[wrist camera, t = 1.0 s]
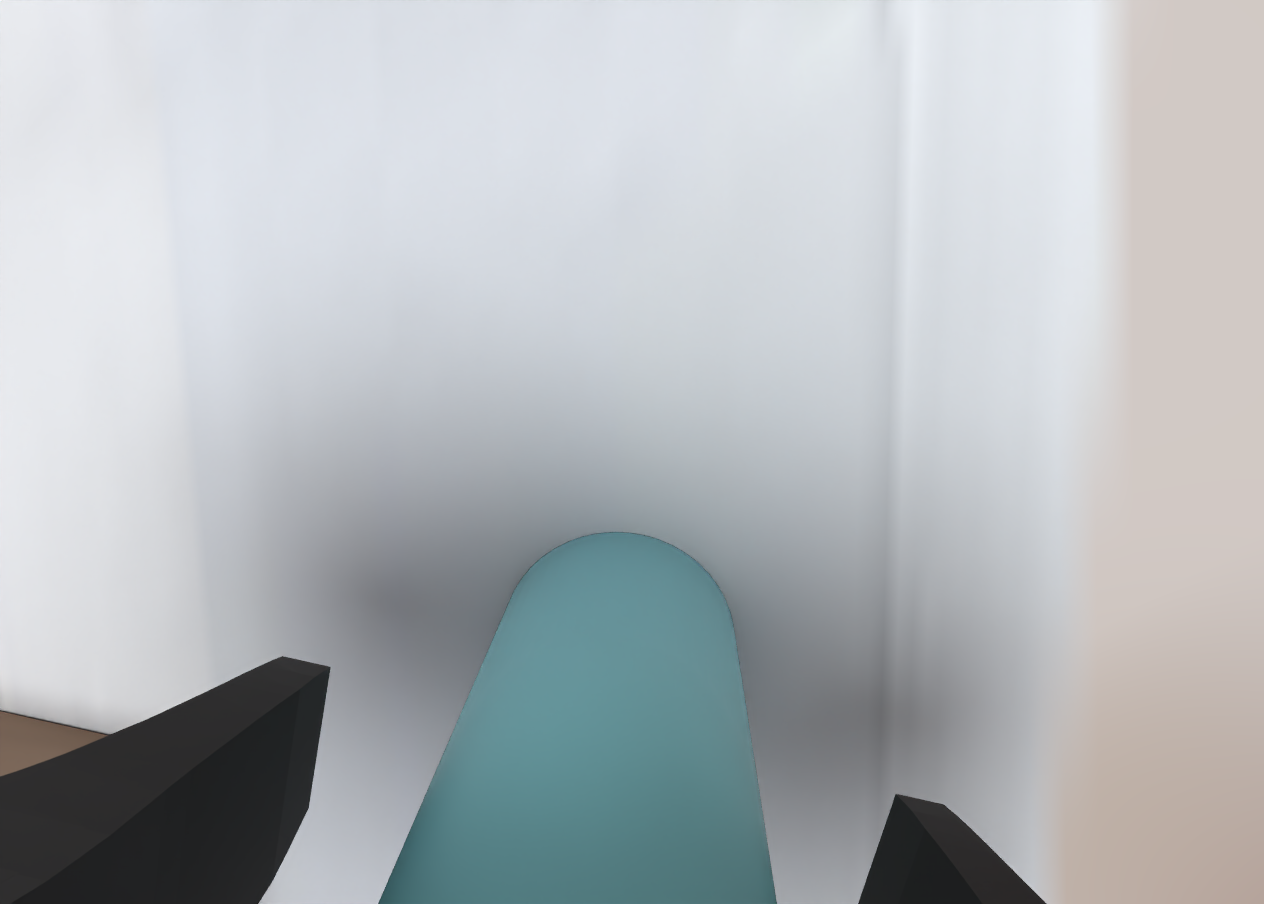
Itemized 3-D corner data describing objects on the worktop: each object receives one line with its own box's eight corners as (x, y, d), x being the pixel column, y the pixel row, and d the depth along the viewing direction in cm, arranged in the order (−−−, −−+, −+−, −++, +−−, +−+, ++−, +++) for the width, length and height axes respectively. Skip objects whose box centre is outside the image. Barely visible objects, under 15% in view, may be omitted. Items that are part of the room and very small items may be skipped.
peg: (703, 767, 16) (751, 1578, 6) (484, 718, 16) (199, 1462, 6) (761, 562, 15) (918, 1151, 5) (527, 508, 15) (269, 1010, 5)
